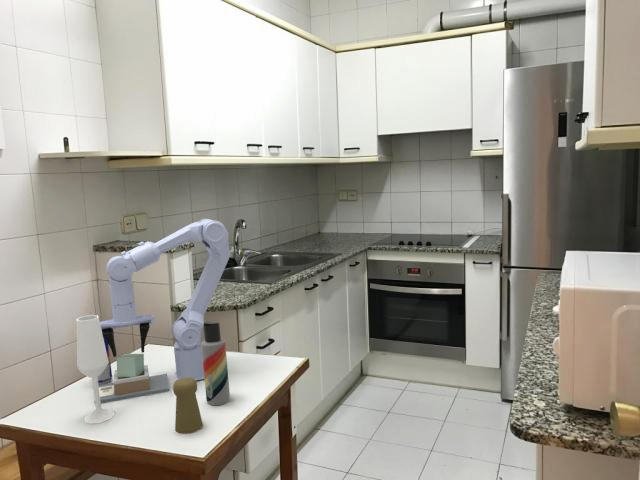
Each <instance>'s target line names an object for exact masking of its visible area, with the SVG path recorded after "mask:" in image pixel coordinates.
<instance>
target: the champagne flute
mask: <svg viewBox="0 0 640 480" xmlns="http://www.w3.org/2000/svg"><path fill="white" fill-rule="evenodd" d="M100 322H101V320H100V319H99V315H98V314H96V315H95V314H89V315H84V316H83V315H82V316H80V317H78V318H76V319H75V323H76V362H77V363H76V364H77V365H76V366H77V369H78V370H79V372H80V373H81V374H83V375H84V376H86V377H87V378H90V379H91V380H92V381H91V383H92V389H93V397H94V401H95V402H94V405H95V406H94V407H95V410H93V411H92V412H91V413H89V414H88V415H86V416H85V418H84V420H83V421H84V423H87V424H98V423H103V422H106V421H108V420H110V419H112V418H114V416H115V412H114V411H113V410H110V409H106V408H102V403H101V402H100V394H99V386H98V378H97V377H98V376H100V375H101V373H102V372H103V371H104V370H105V369H106V367H107V365H108V357H107V352H106V348H105V343H104V339H103V334H102V330H101V326H100Z"/></svg>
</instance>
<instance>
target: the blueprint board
mask: <svg viewBox="0 0 640 480" xmlns="http://www.w3.org/2000/svg"><path fill="white" fill-rule="evenodd" d="M168 376H169V375H168V373H162V374H156V375H150V373H149V365H148V364H144V373H142V374H140V375H138V376H136V377H117V369H115V370H114V376H113V382H109V383H108V384H102V385H98V386H99V394H100V402H101V404H105V403H112V402H116V401H121V400H127V399H133V398H139V397H145V396H150V395H151V396H152V395H156V394H161V393H166V392H170V383H169V377H168ZM93 403H95V400H94V402H93Z"/></svg>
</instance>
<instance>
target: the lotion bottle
mask: <svg viewBox="0 0 640 480" xmlns="http://www.w3.org/2000/svg"><path fill="white" fill-rule="evenodd" d="M221 334H222V333H221V323H220V322H219V321H204V325H203V336H204V340H202V341H201V347H202V358H203V369H204V379H203V380H204V389H205V398H206V399H205V400H206V403H207V404H208V405H210V406H220V405H223V404H226V403H228V402H229V401H230V400H231V399H230V398H231V397H230V395H231V394H230V384H229V383H230V381H229V372H228V371H229V369H228V356H227V349H226V339H224V338H222V335H221Z"/></svg>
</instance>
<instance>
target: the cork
mask: <svg viewBox="0 0 640 480" xmlns="http://www.w3.org/2000/svg"><path fill="white" fill-rule="evenodd" d="M197 391H198V382H197V380H196V381H195V380H194V379H193V378H181V379H179V380H177V381H176V380H175V381H174V383H173V385H172V392H173V394H174V396H175V397H176V399H175V400H176V401H175V422H174V423H175V424H174V431H175V432H176V433H178V434H182V435H188V434H193V433H196V432H198V431H199V430H201V429H202V428H203V426H204V423H203V419H202V415H201V411H200V407H199V402H198V399H197V394H196V393H197Z"/></svg>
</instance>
